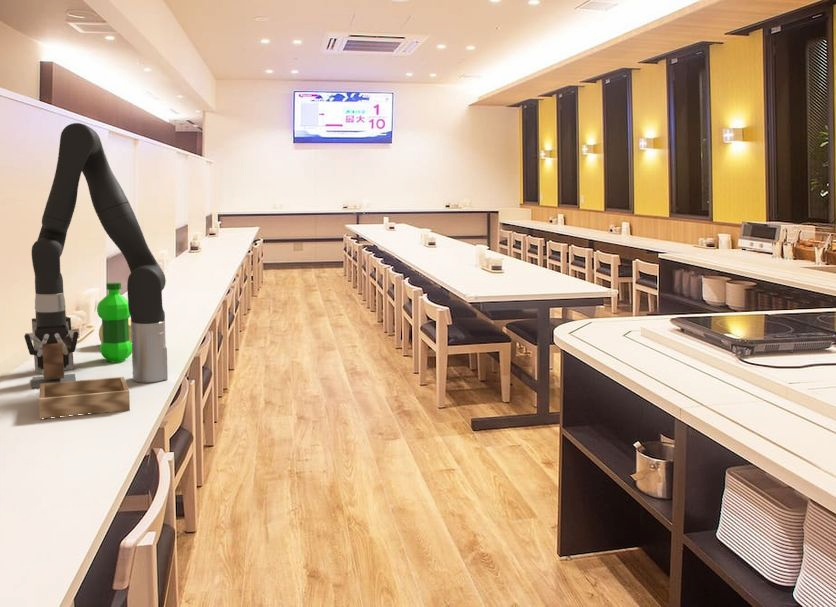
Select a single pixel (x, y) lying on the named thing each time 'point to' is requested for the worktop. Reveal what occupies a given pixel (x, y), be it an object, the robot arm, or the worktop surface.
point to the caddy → (83, 397)
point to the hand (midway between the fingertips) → (53, 367)
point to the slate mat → (51, 380)
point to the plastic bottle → (114, 325)
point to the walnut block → (53, 361)
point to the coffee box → (66, 340)
